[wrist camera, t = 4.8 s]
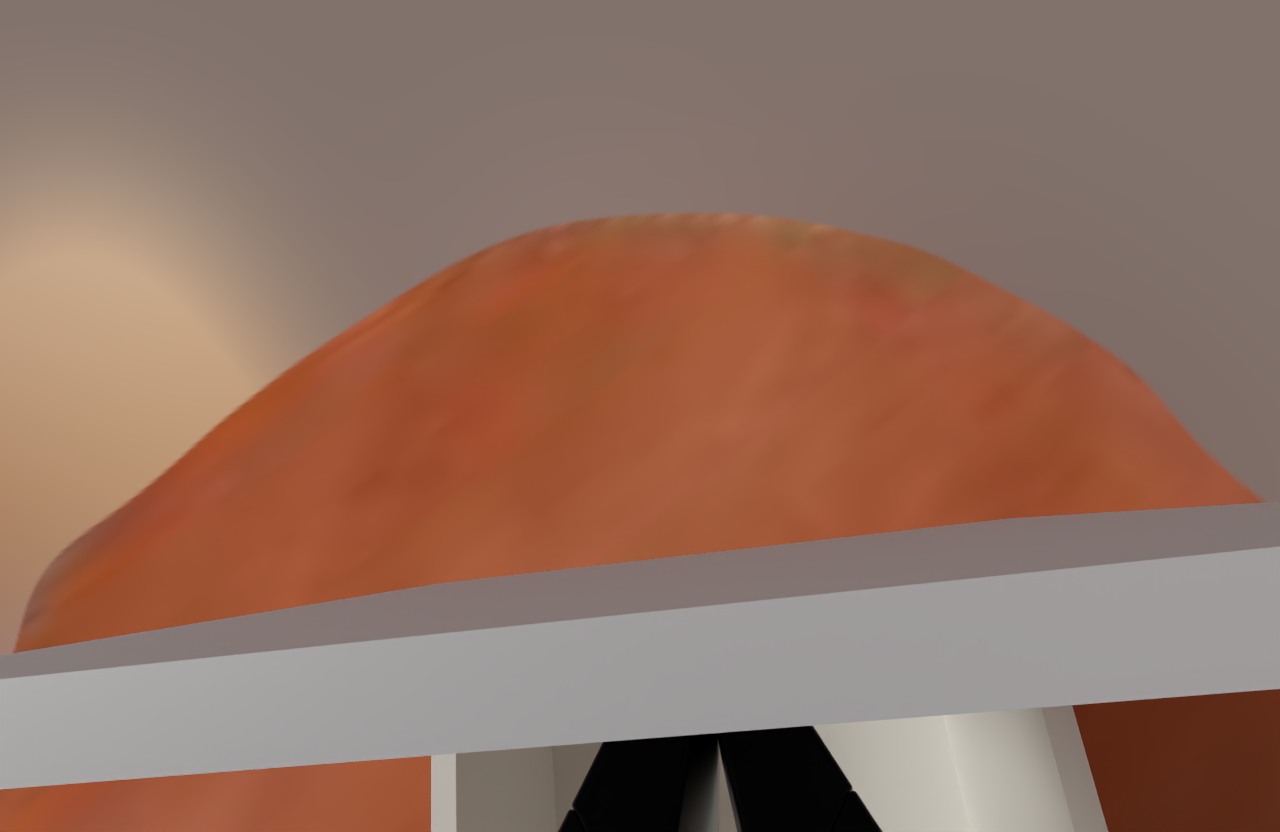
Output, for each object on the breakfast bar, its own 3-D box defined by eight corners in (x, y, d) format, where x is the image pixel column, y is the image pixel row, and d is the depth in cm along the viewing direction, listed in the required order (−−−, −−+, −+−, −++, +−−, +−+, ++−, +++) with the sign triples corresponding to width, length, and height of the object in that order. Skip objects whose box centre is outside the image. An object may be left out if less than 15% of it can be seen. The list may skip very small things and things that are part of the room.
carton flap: (2471, 596, 2) (2359, 436, 2) (-415, 822, 4) (-391, 720, 4) (1017, 545, 13) (1010, 518, 14) (439, 608, 15) (438, 583, 15)
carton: (1021, 988, 17) (1238, 1289, 10) (552, 1000, 19) (430, 1266, 12) (922, 562, 21) (1026, 544, 13) (534, 604, 23) (431, 609, 15)
